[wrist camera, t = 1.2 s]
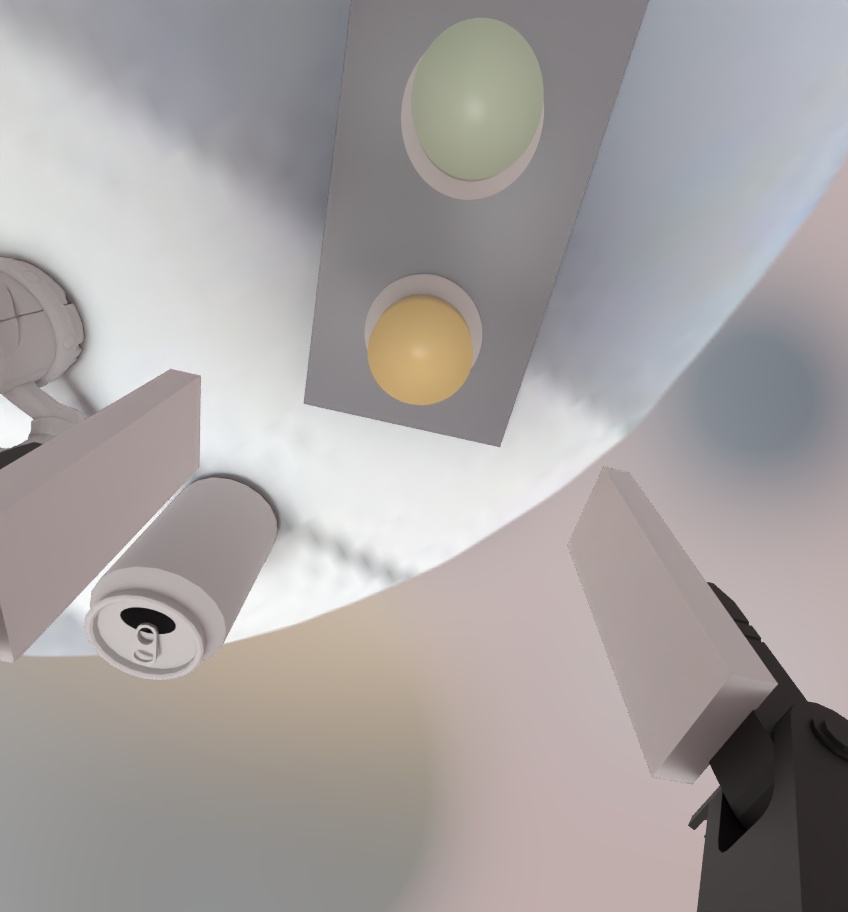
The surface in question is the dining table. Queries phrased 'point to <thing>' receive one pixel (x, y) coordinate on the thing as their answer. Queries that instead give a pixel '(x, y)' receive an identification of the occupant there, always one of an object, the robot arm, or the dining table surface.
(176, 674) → the can
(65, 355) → the mug
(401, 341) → the button ochre
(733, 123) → the dining table surface
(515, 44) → the button sage
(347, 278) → the console
